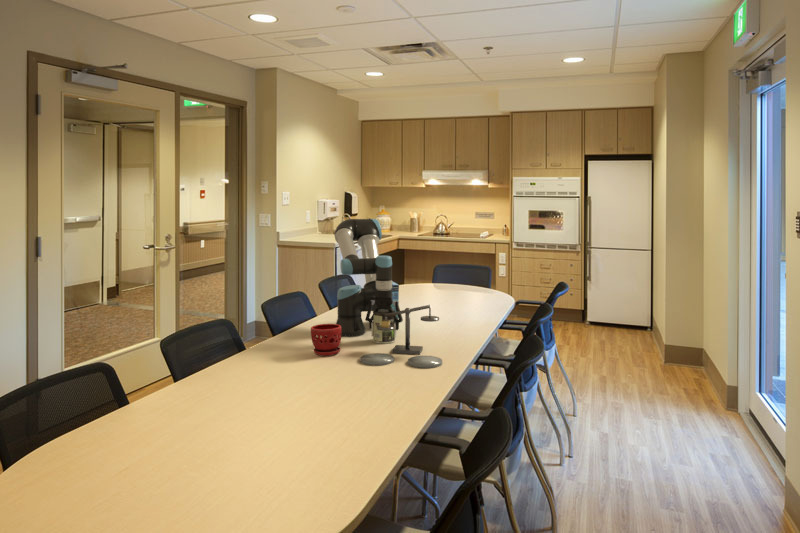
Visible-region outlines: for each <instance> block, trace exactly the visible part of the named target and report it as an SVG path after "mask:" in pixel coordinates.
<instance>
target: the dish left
mask: <svg viewBox="0 0 800 533" xmlns="http://www.w3.org/2000/svg"><path fill="white" fill-rule="evenodd" d="M359 362H360V363H361V364H363V365H366V366H373V365H375V366H378V367H379V366H386V365H390V364H393V363H394V362H395V356H394V355H392V354H388V353H381V352H376V353H375V352H372V353H367V354H363V355H361V356H360V357H359Z"/></svg>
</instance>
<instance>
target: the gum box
mask: <svg viewBox="0 0 800 533" xmlns="http://www.w3.org/2000/svg"><path fill="white" fill-rule="evenodd" d="M399 289H400V285H399V284H398V283H397V282H395V281H393V280H392V288H391V290H392V300H393V301H399V296H400V293H399V291H400V290H399ZM399 302H400V301H399ZM391 307H392V309H393V311H395V312H397V311H396V308H395V306H394V304H393V303H392V305H391ZM396 316H397V318H398V315H396ZM398 319H399V318H398Z"/></svg>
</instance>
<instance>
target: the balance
mask: <svg viewBox="0 0 800 533" xmlns="http://www.w3.org/2000/svg"><path fill="white" fill-rule="evenodd" d="M431 308H432V306H431V304H428V305H421V306H417V307H413V308H410V307H405V309H402V310H400V311H398V312H393V313H388V314H385V320H382V321H381V325H379V326H377V330H381V331H390V330H394V329H395V326H393V325H390V320H386V317H390V316H394V315H399V314H401V315H403V314H405V318H404V320H405V321H404V322H405V323H404V325H405V327H404V328H405V329H404V330H405V332H404V334H405V336H404V337H405V338H404V340H405V341H404V344H405V345H403V344H402V345H399V344H396V345H394V346H393V348H392V350H391V351H392V354H400V355H415V354H418V355H417V356H421V354H420V353H422V352H423V348H424V347H423V346H422V345H411V312H417V311H421V310H426V309H427V310H429V312H428V315H424V316H423V315H422V316H421V317H420V321H422V322H426V323H427V322H429V323H431V322H432V323H433V322H438V321H440V317H439V316H435V315H431V313H432V310H431Z"/></svg>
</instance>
